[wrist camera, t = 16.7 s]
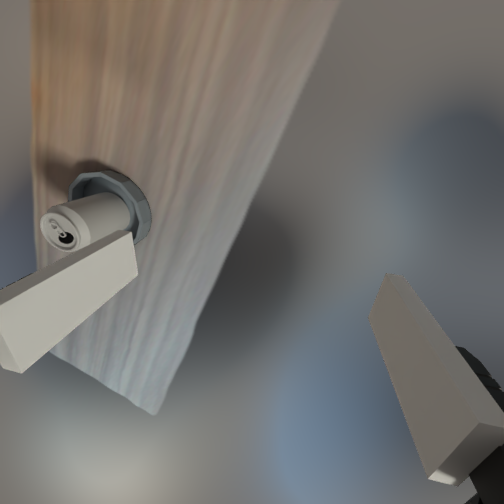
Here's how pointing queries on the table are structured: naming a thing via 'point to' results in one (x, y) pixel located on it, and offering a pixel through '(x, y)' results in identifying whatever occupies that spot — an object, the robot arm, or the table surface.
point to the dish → (120, 187)
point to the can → (84, 221)
